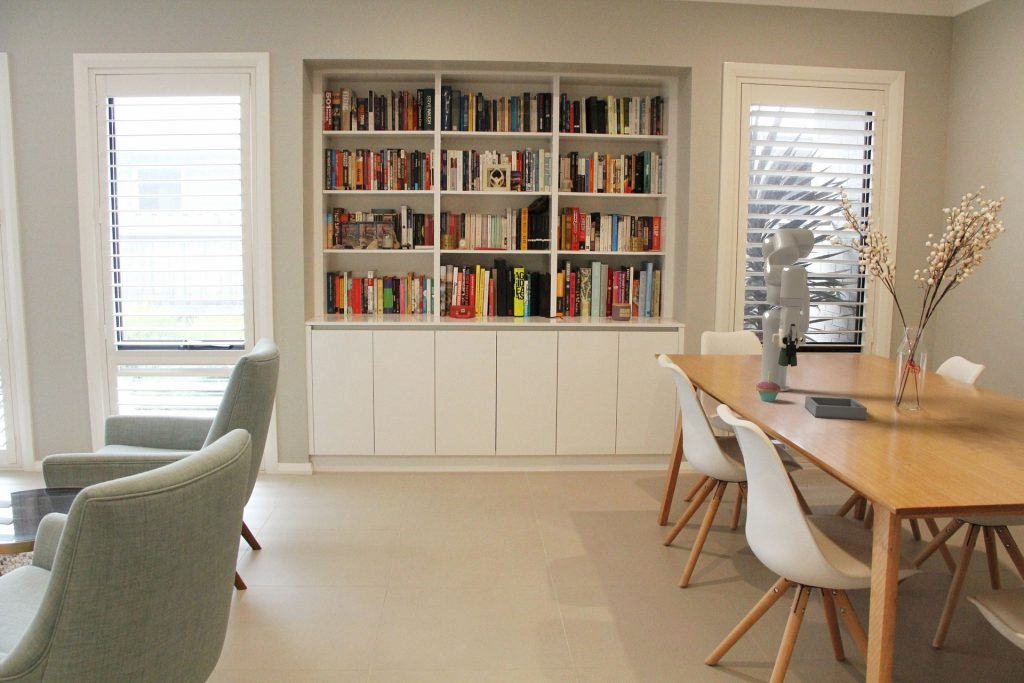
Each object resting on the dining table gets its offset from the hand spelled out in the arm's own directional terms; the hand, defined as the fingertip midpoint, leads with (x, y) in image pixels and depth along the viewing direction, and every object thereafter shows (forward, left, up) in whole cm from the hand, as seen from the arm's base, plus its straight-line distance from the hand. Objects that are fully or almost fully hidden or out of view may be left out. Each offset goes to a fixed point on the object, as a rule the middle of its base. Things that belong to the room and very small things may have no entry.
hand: (788, 354), depth 268 cm
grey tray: (+2, +16, -19) cm, 25 cm away
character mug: (0, 0, -4) cm, 4 cm away
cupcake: (-16, -3, -20) cm, 26 cm away
